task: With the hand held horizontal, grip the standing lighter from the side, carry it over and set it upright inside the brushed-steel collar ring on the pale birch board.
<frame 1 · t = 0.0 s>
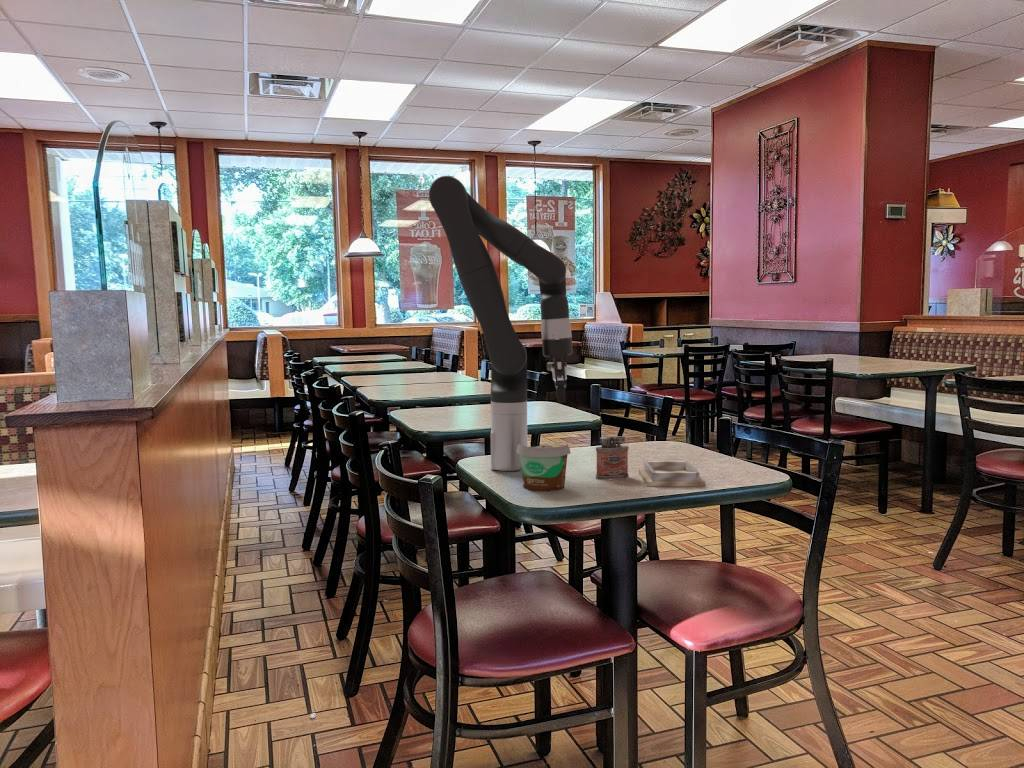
hand: (561, 400, 191), 17 cm above the table, tool pointing down, fingers open, 8 cm apart
food container: (541, 490, 169), on the table
lighter: (612, 478, 180), on the table
ring board: (670, 479, 178), on the table
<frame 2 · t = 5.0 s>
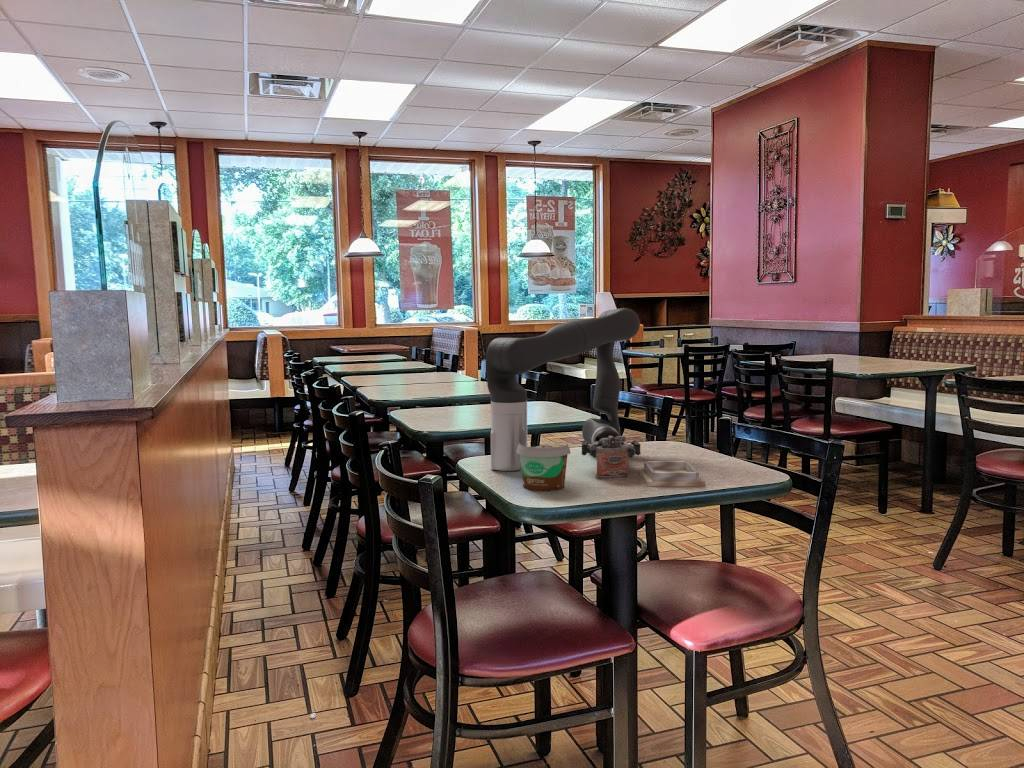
hand: (613, 453, 178), 6 cm above the table, tool horizontal, fingers closed on lighter, 8 cm apart
lighter: (612, 478, 180), on the table, touching gripper
everything else where it was.
when the fingers open (8 cm above the table, at t = 11.5 s): lighter drops 1 cm, resting on ring board.
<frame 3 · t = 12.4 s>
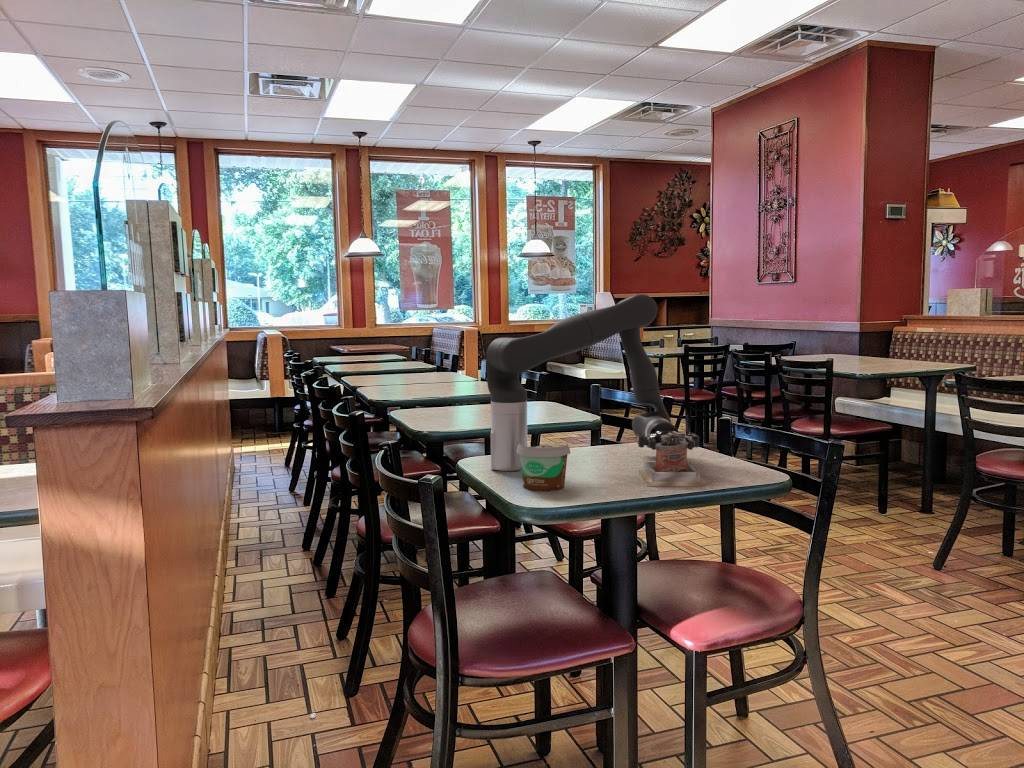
hand: (672, 445, 175), 8 cm above the table, tool horizontal, fingers open, 8 cm apart
lighter: (670, 474, 178), point 1 cm above the table, touching gripper, ring board
everything else where it was.
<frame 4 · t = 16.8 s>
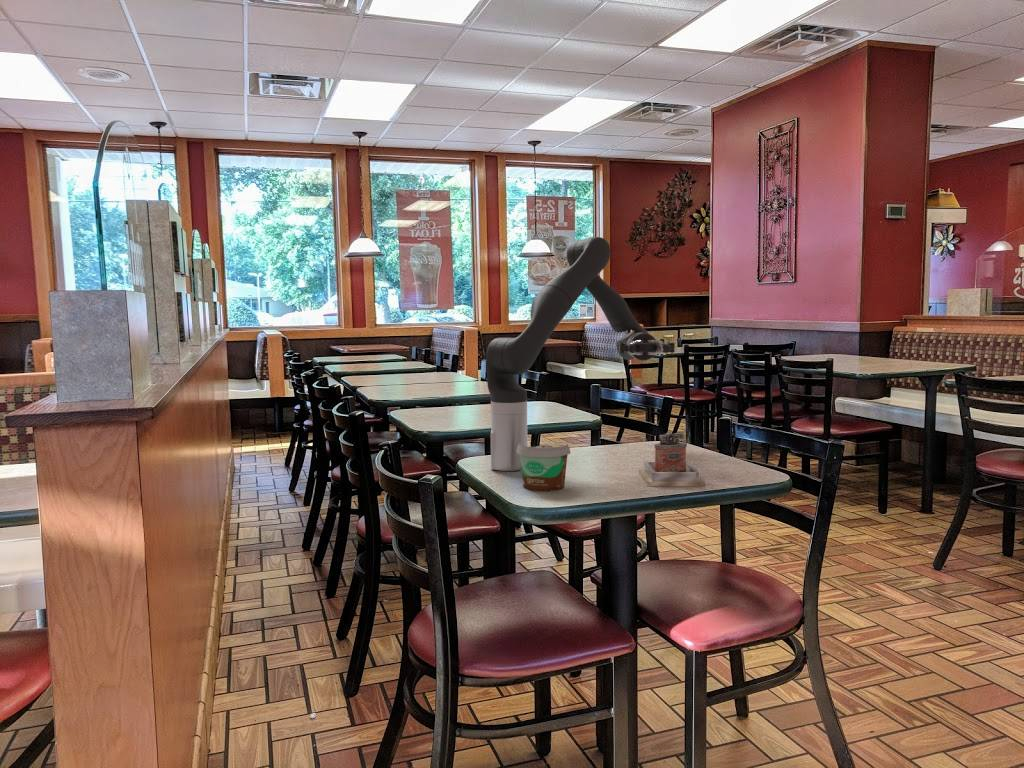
hand: (650, 348, 192), 30 cm above the table, tool horizontal, fingers open, 8 cm apart
lighter: (670, 476, 178), point 1 cm above the table, touching ring board
everything else where it was.
at the end: lighter inside the target area on the ring board (0.0 cm from its centre), point 0.8 cm above the ring board's base; lighter tilted 0°; the gripper is holding nothing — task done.
